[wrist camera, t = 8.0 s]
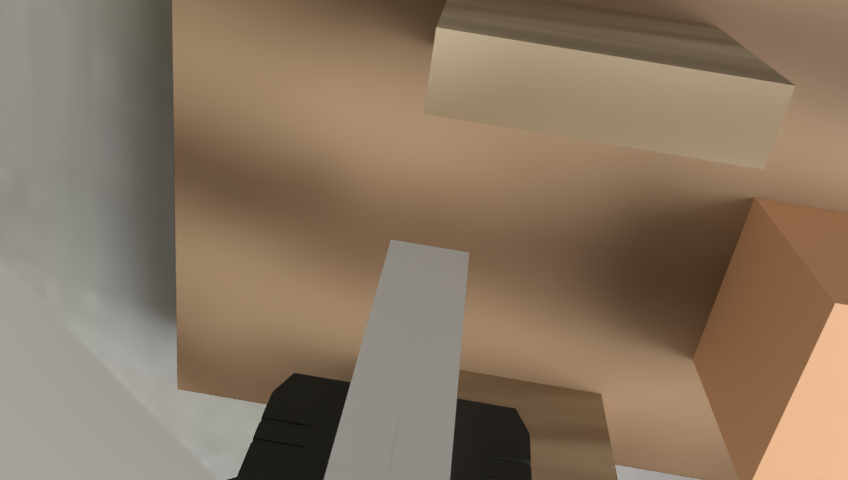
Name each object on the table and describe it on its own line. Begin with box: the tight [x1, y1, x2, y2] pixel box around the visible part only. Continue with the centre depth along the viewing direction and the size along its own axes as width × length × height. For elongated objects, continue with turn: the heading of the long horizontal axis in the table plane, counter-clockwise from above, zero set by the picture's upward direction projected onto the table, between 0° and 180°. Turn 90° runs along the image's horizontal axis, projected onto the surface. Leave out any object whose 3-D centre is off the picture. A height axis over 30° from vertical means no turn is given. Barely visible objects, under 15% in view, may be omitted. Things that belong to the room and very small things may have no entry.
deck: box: [172, 0, 848, 480], centre depth 19 cm, size 14×28×8 cm, turn 82°
